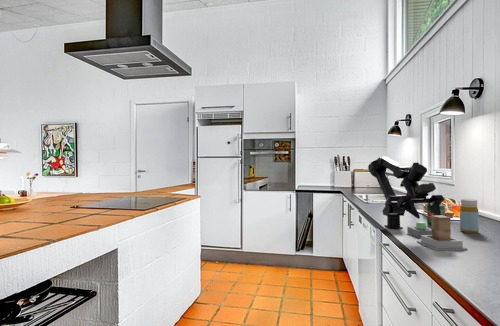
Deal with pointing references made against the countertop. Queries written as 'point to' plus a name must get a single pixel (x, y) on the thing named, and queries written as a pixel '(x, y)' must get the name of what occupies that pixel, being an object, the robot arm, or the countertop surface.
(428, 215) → the canned tomato
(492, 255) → the countertop surface
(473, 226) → the bottle
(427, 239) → the grey square socket
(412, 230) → the switch box
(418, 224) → the button
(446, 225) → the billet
